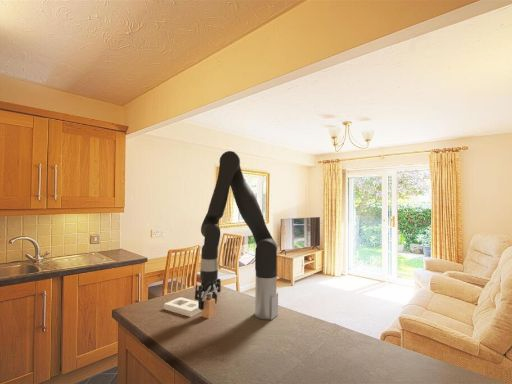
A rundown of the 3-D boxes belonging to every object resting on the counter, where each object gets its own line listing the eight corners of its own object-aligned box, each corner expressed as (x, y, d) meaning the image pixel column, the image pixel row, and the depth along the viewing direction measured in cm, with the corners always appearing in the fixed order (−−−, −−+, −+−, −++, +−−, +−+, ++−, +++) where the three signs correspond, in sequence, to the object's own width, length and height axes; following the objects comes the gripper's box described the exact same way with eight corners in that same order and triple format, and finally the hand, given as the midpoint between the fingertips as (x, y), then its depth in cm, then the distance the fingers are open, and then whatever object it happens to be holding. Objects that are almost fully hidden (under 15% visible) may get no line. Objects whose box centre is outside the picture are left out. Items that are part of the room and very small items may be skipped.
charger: (214, 315, 121) (215, 294, 121) (208, 318, 118) (209, 296, 118) (207, 313, 123) (208, 292, 123) (201, 316, 119) (202, 295, 120)
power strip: (205, 309, 127) (206, 303, 127) (190, 317, 119) (190, 310, 119) (180, 302, 135) (180, 296, 135) (164, 309, 127) (164, 303, 127)
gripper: (204, 273, 113) (203, 313, 113) (225, 266, 125) (224, 303, 125) (191, 270, 117) (189, 309, 117) (212, 264, 129) (211, 299, 129)
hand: (207, 306), depth 121 cm, fingers open, 8 cm apart
